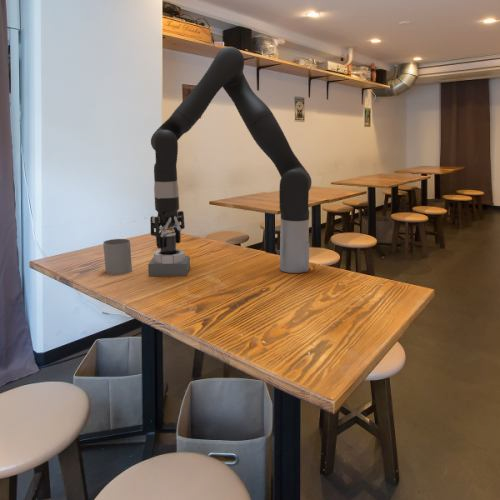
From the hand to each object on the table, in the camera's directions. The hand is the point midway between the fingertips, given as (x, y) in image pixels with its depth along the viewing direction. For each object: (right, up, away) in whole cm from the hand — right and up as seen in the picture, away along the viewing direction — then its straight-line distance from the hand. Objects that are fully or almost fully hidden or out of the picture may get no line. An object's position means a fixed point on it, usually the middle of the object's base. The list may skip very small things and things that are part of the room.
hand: (169, 245), depth 140 cm
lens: (0, -5, +2) cm, 5 cm away
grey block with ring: (0, -9, +2) cm, 9 cm away
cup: (-17, -9, +3) cm, 19 cm away
